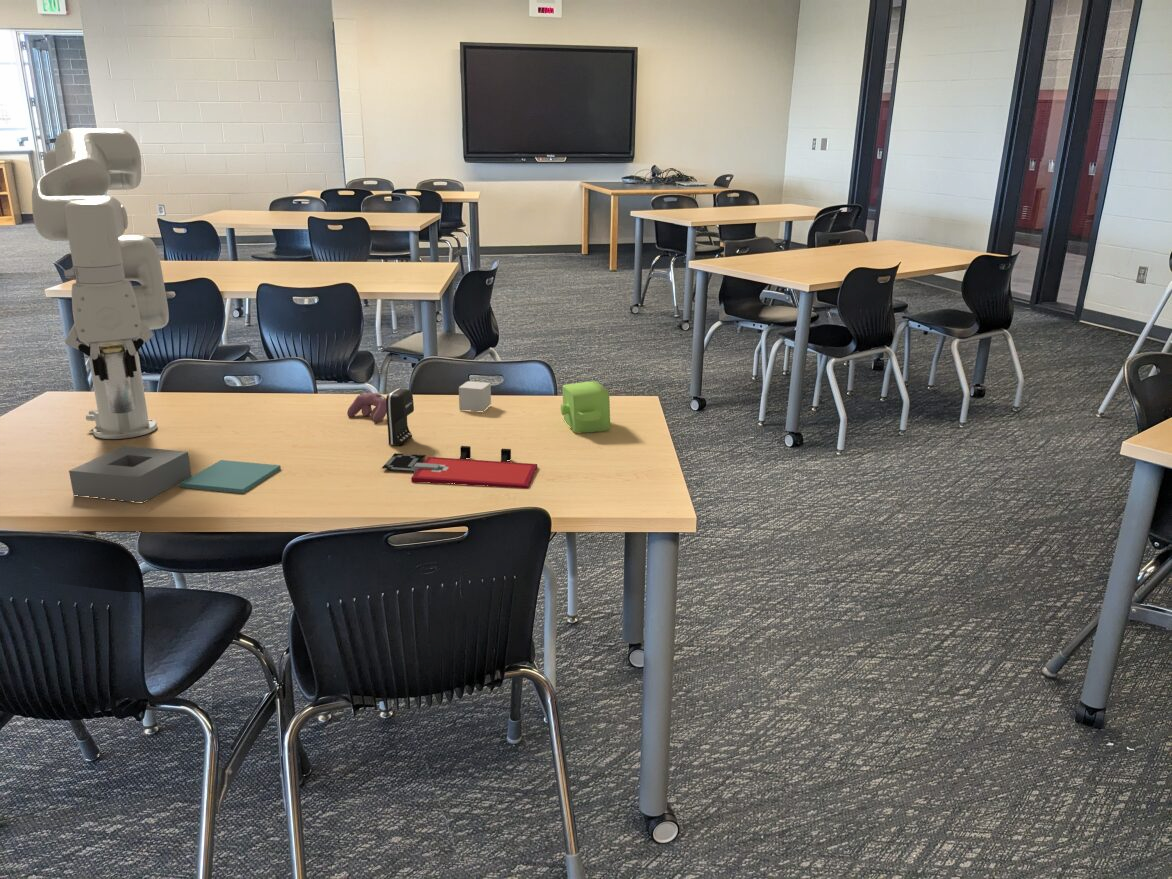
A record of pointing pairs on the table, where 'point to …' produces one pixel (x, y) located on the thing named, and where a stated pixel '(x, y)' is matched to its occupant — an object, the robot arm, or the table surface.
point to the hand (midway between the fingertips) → (116, 376)
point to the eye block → (130, 473)
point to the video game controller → (369, 406)
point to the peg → (116, 378)
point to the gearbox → (586, 406)
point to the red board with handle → (465, 469)
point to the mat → (230, 476)
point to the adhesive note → (474, 396)
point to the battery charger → (399, 415)
